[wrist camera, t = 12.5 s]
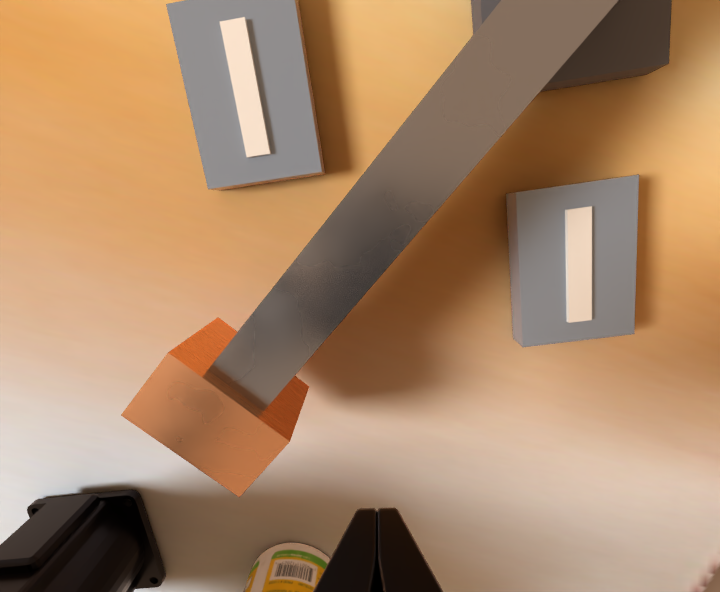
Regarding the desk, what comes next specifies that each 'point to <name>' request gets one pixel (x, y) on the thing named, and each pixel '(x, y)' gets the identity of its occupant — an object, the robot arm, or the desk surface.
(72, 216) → the desk surface
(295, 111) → the label tile
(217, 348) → the swing arm
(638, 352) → the desk surface
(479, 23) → the pivot base
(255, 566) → the supplement bottle
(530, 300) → the label tile
